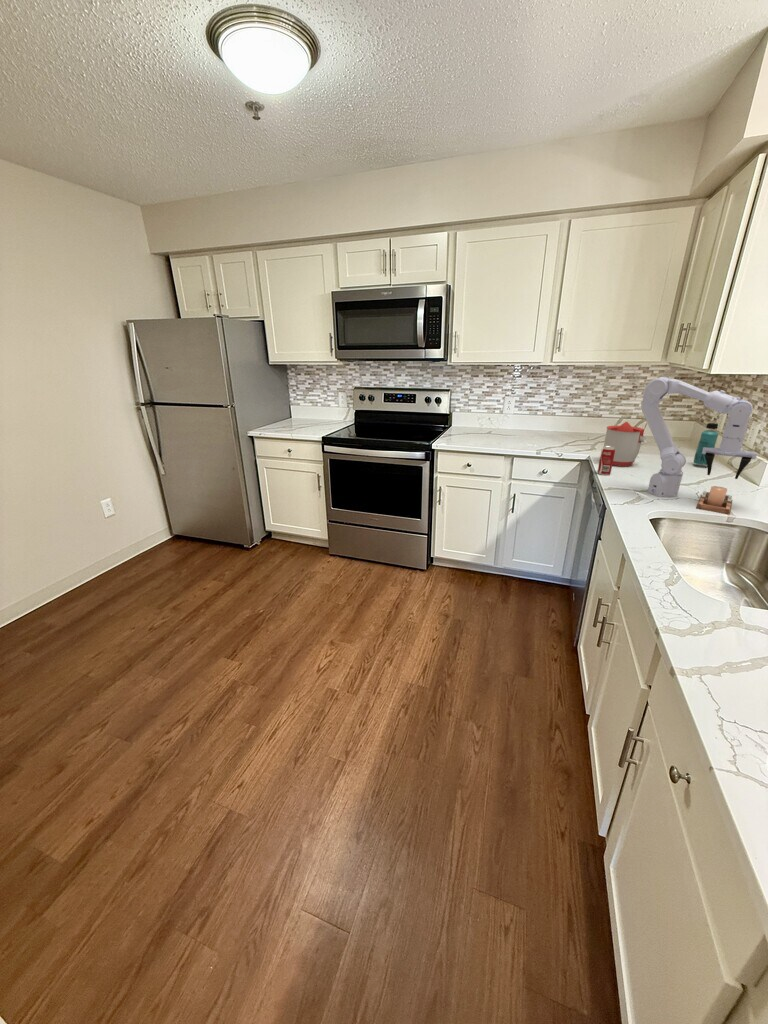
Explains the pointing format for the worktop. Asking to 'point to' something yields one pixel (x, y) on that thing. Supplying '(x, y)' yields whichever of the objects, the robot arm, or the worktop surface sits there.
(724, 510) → the tray
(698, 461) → the beverage bottle
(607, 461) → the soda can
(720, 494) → the tube
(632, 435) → the citrus juicer
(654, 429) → the robot arm
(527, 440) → the worktop surface
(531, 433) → the worktop surface
